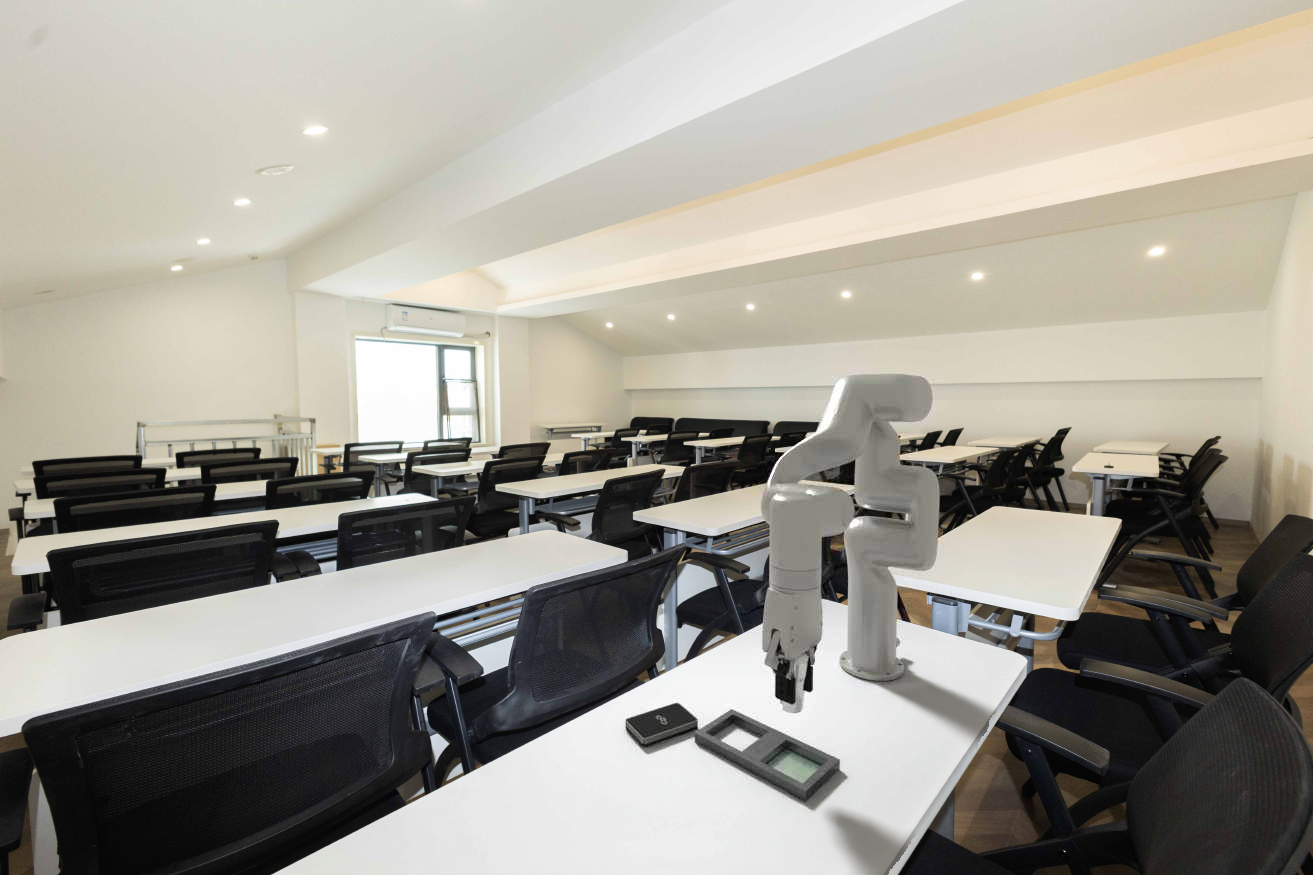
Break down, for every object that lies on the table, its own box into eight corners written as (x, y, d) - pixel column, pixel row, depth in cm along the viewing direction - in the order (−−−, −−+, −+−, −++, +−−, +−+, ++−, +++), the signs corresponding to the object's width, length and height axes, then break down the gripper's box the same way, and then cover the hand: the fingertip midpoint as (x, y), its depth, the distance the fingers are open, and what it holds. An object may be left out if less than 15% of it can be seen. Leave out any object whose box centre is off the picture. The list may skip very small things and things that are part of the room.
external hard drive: (699, 731, 102) (699, 719, 101) (642, 751, 96) (642, 739, 96) (677, 712, 108) (677, 701, 107) (623, 730, 102) (623, 719, 102)
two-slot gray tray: (731, 717, 105) (731, 708, 105) (839, 769, 90) (839, 759, 90) (694, 741, 98) (694, 732, 98) (805, 801, 83) (805, 791, 83)
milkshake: (813, 718, 87) (815, 651, 86) (776, 713, 88) (777, 648, 87) (811, 702, 91) (813, 639, 90) (776, 698, 92) (777, 636, 91)
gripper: (802, 559, 96) (801, 667, 98) (740, 583, 84) (740, 706, 86) (845, 568, 91) (843, 683, 92) (785, 596, 79) (784, 727, 81)
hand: (794, 693), depth 89 cm, fingers closed on milkshake, 4 cm apart
